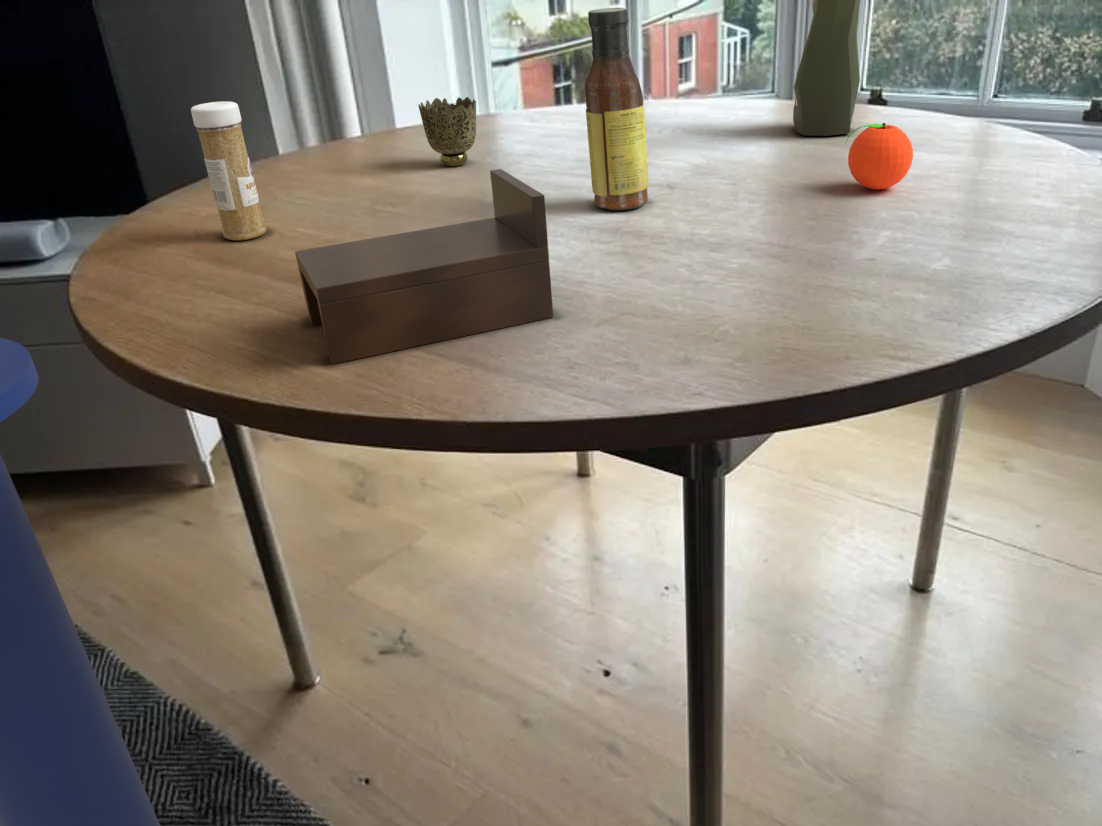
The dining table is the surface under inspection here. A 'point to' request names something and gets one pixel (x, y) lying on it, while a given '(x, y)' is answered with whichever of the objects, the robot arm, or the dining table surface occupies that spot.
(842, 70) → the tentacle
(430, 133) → the cup
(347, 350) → the shelf
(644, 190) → the sauce bottle
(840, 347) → the dining table surface
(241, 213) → the sprinkles bottle
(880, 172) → the clementine
